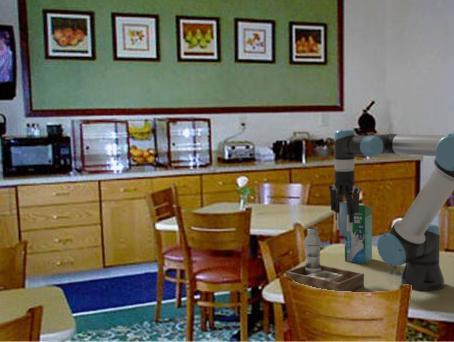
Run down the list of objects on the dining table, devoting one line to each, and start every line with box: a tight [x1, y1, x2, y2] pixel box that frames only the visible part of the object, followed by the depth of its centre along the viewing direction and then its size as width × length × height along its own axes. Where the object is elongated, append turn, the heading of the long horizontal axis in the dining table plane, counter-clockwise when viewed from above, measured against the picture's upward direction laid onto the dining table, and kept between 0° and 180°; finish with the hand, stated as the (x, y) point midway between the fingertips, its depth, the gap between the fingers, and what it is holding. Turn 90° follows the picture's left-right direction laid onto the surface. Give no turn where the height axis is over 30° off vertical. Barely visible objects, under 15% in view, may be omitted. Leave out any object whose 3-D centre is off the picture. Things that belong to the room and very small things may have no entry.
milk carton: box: [344, 202, 373, 264], centre depth 251 cm, size 9×9×25 cm
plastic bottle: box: [303, 227, 322, 275], centre depth 225 cm, size 6×7×20 cm
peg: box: [339, 200, 350, 237], centre depth 226 cm, size 4×4×13 cm
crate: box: [285, 264, 365, 292], centre depth 217 cm, size 24×16×5 cm, turn 45°
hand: (344, 229), depth 226 cm, fingers closed on peg, 4 cm apart
